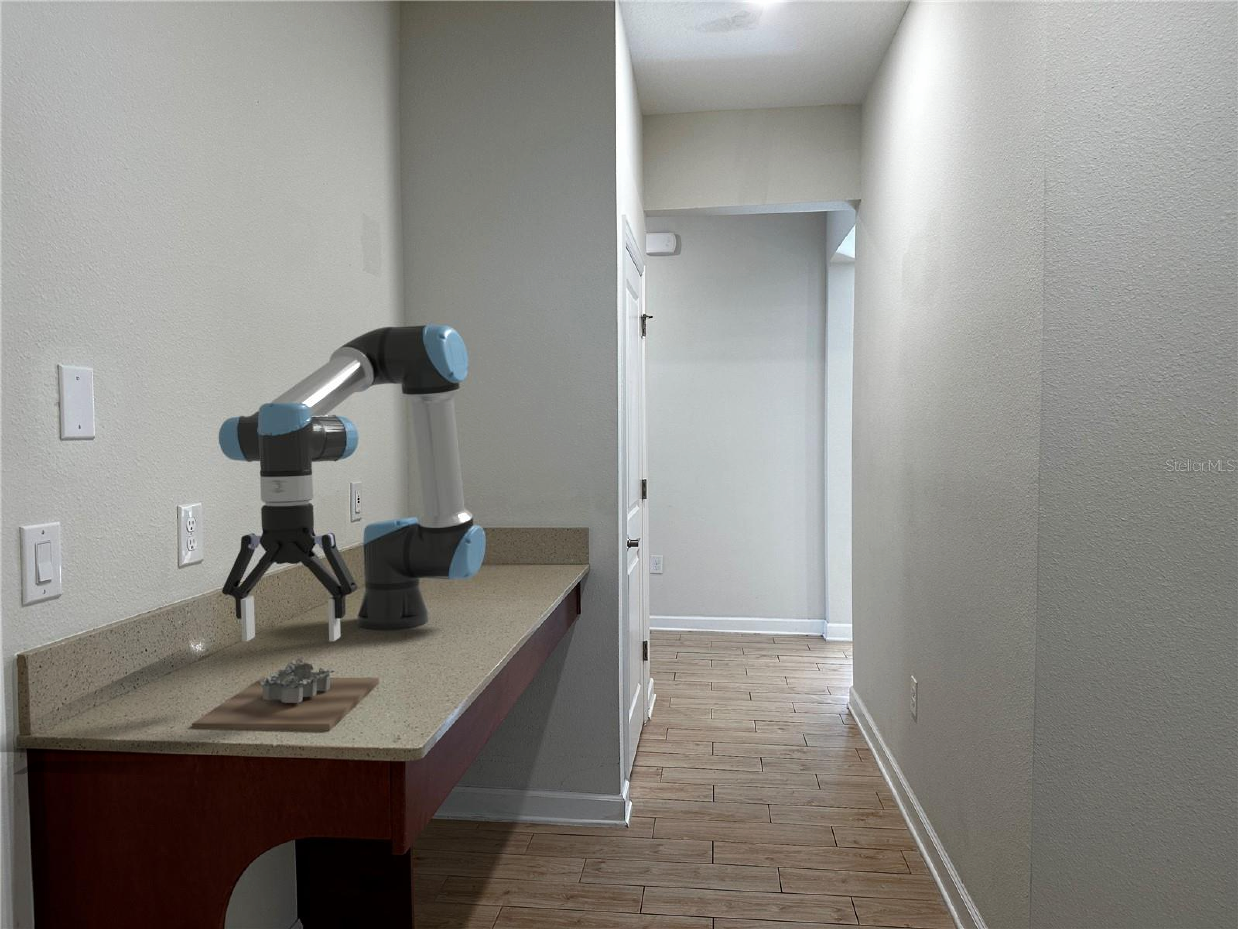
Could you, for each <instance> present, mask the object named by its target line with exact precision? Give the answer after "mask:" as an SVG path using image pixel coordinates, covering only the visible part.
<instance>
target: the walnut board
mask: <svg viewBox="0 0 1238 929" xmlns="http://www.w3.org/2000/svg"><path fill="white" fill-rule="evenodd" d="M266 678H267V677H261V678H259V679H257V680H256V681H254V682H252V684H250V685H248V686H247V687H245V688H244V689H243V690H241V691H239V692H238V693H236V694H234V695H233V696H232V697H230V698H229V699H227V700H226V701H224V702H223V703H221V704H219V705H218V706H216V707H214V708H213V709H212V710H210V711H209V712H207V713H206V714H204V715H203V716H201V717H200V718H198V719H196V720H194V722H192V723H191V725H192V726H191V729H217V730H218V729H222V730H223V729H224V730H226V729H227V730H262V731H263V730H264V731H265V730H267V731H268V730H269V731H273V730H274V731H307V732H309V731H310V732H311V731H315V732H316V731H317V732H318V731H319V732H321V731H322V732H323V731H324V732H330V731H331V730H333V729H334V728H335V726H337V725H338V724H339V723H340V722H341V721H342V720H343V719H344V718H346V716H347V715H348V714H349V713H351V711H353V710H354V709H355V708H356V707H357V705H359V703H361V702H362V701H363V700H364V699H365V698H366V697H367V696H368V695H369V694H370V693H371V692H372V691H374V689H375V688H376V687H377V686H378V685H380V678H379V677H330V688H329V689H328V690H327V691H316V696H313V697H303V698H302V702H299V703H284V702H281V700H279V699H272V700H267V699H263V696H262V693H263V684H259V683H260V682H258V681H262V680H265V679H266Z"/></svg>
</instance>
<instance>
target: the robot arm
mask: <svg viewBox="0 0 1238 929" xmlns="http://www.w3.org/2000/svg"><path fill="white" fill-rule="evenodd" d="M468 368H469V356H468V352H467V348H466V344H465V342H464V340H463V338H462V336H461V335H460V334H459V333H458V331H456V329H455V328H454V327H451V326H449V325H441V324H440V325H439V324H424V325H423V324H422V325H408V326H385V327H380V328H376V329H373V330H370V331H367V332H366V333H365V332H364V333H363V334H361V335H359V336H357V337H355V338H354V339H351V340H350V341H348V342H346V343H345V344H344V345H342V346H340V347H339V348H337V349H336V350H335V351H334V352H332V354H331V356H330V358H329V360H328V361H327V362H326V364H324V365H322V366H321V367H320V368H318V369H317V370H315V371H313V372H312V373H311V374H308V376H306V377H305V378H303V379H302V380H301V381H299V382H298V383H297V384H295V385H294V386H292V387H290V388H289V389H288V390H287V391H285V392H283V393H282V394H280V395H279V396H278V397H276V398H275V399H273V400H272V401H271V402H269V403H268V402H267V403H263V404H262V405H260V406H259V408H258V411H256V412H254V413H253V414H251V415H249V416H245V415H239V416H234V417H232V416H231V417H229V418H227V419H226V420H225V421H224V422H223V423H222V424H221V426H220V428H219V431H218V444H219V446H220V449H221V452H222V453H223V455H225V457H227V458H228V459H229V460H233V461H241V462H248V463H251V462H259V463H260V464H259V465H260V466H259V467H260V470H259V475H260V476H259V478H260V479H259V481H260V482H259V483H260V501H261V502H262V503H264V505H262V507H261V508H260V514H261V515H260V517H261V518H260V519H261V529H262V533H261V535H256V534H255V533H251V532H250V533H248V534H245V535H243V536H241V538H240V549H239V552H238V554H237V557H236V558H235V561H234V562H233V563H234V564H233V565H232V568H231V570H230V572H229V574H228V576H227V579H226V581H225V583H224V585H223V587H222V589H221V592H222V594H223V595H225V596H231V597H233V598H234V600H235V602H234V603H235V616H236V618H237V620H241V639H242V640H241V641H242V642H248V641H250V640H252V639H254V638H255V637H256V627H255V625H256V624H255V598H254V597H255V596H254V595H250V594H251V591H252V590H253V589H254V587H255V586H256V585H257V584H258V582H259V581H260V580H261V579H262V578H263V576H264V575H265V574H266V572H267V571H268V570H269V569H270V568H271V566H272V565H273V564H274V563H276V564H277V565H281V564H282V565H283V564H286V563H287V564H291V565H297V564H299V563H301V564H302V565H303V566H304V567H306V568H307V569H308V570H309V571H310V572H311V573H312V574H313V576H315V577H316V579H317V580H318V581H319V582H320V583H321V585H322V586H323V587H324V588H325V589H326V590H327V591H328V592H329V593H330V595H331V597H329V598H328V599H327V607H328V608H327V609H328V636H329V637H328V638H329V640H328V642H336V641H337V640H338V639H340V638H341V619H343V618H344V617H345V616H346V614H347V613H346V596H347V595H351V594H353V593H354V592H356V591H357V590H358V585H357V583H356V582H355V579H354V577H353V576H352V574H351V572H350V570H349V568H348V566H347V564H346V562H345V561H344V558H343V556H342V555H341V553H340V551H339V549H338V547H337V542H336V535H335V533H333V532H330V533H326V534H321V535H316V534H315V531H314V526H315V523H314V522H315V520H314V519H315V518H314V517H315V516H314V515H315V514H314V505H313V504H312V503H310V501H312V500H313V499H314V488H313V487H314V486H313V466H312V465H313V464H312V463H319V462H338V461H339V460H345V459H347V458H348V457H350V456H352V455H354V452H356V450H357V448H358V444H359V433H358V430H357V427H356V425H355V424H354V423H353V421H352V420H351V419H349V418H347V417H344V416H341V415H340V416H339V415H336V414H331V415H330V414H328V413H330V412H332V411H333V410H334V409H335V408H336V407H338V406H339V405H340V404H341V403H343V402H344V401H345V400H347V399H348V398H349V397H350V396H352V395H354V393H361V392H364V391H366V390H368V389H369V388H370V387H373V386H376V385H390V384H394V385H398V384H400V385H401V390H402V395H403V396H404V397H405V398H406V399H408V400H409V401H410V404H411V412H412V414H411V415H412V421H413V422H412V423H413V430H414V438H415V439H414V440H415V449H416V457H417V465H418V473H419V481H420V482H419V483H420V494H421V500H422V501H421V502H422V510H423V513H422V515H421V516H420V517H419V518H418V517H416V516H413V517H411V516H410V517H403V518H394V519H389V520H383V521H378V522H377V521H376V522H373V523H369V524H367V525H366V526H365V528H364V531H363V543H362V547H363V569H364V570H363V571H364V574H363V575H364V593H363V597H362V599H361V603H360V606H359V610H358V613H357V617H356V621H357V622H356V623H357V626H358V627H359V628H361V629H365V630H368V631H369V630H370V631H400V630H401V631H402V630H408V629H414V628H418V627H422V626H424V625H426V624H428V622H429V611H428V608H427V605H426V602H425V600H424V596H423V594H422V591H421V588H420V579H432V580H433V579H435V580H447V581H448V580H450V581H453V582H454V581H456V580H459V581H460V580H470V579H472V578H473V577H474V576H475V575H476V574H477V573H478V572H479V570H480V568H481V566H482V563H483V561H484V558H485V553H486V546H487V545H486V543H487V541H486V540H487V539H486V532H485V531H484V528H483V527H482V526H480V525H478V524H474V517H473V516H474V515H473V513H472V512H471V511H469V510H468V509H466V507H465V498H464V490H463V488H464V487H463V479H462V469H461V460H460V450H459V442H458V430H457V421H456V412H455V403H454V402H455V401H454V399H455V396H456V395H457V393H458V392H459V391H460V388H461V387H460V383H462V382H463V381H465V379H466V377H467V376H468ZM316 545H318V547H319V548H320V549H321V550H322V551H323V553H324V556H325V558H326V559H327V562H328V564H329V565H330V567H331V569H332V571H333V573H334V575H335V576H336V577H335V576H334V575H333V573H332V572H331V571H330V570H329V569H328V567H327V566H326V565H325V564H324V563H323V562H322V561H321V560H320V557H319V556H318V554H317V553H316V552H315V551H314V550H313V549H314V548H315V546H316ZM259 546H261V547H262V549H263V550H264V554H263V555H262V556H261V558H260V559H259V560H258V562H257V564H256V565H255V566H254V568H253V569H252V570H251V571H250V573H249V574H248V575H247V576H246V577H245V579H244V580H243V581H242V579H243V577H244V574H245V573H246V571H247V569H248V566H249V564H250V563H251V560H252V557H253V555H254V553H255V551H256V550H257V549H258V548H259ZM241 581H242V582H241Z"/></svg>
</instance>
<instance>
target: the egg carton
mask: <svg viewBox="0 0 1238 929" xmlns="http://www.w3.org/2000/svg"><path fill="white" fill-rule="evenodd" d="M302 659H303V657H300V658H296V659H294V660H291V661H290V662H289V663H287V665H286V667H285V668H279V669H278V672H275V673H274V674H270V675H269V676H267V677H265V678H266V679H265V680H262V681H258V680H257V681H258V682H260V683H259V684H263V693H262V696H263V699H267V700H272V699H279V700H281V702H284V703H299V702H302V698H303V697H313V696H316V691H327V690H328V689H329V688H330V678H331V675H330V673H335V670H330V669H329V668H327V670H325V669H323V668H322V667H319V668H318V669H319V670H317V671H315V670H314V667H313V665H312V663H311V662H307V661H304V660H302Z"/></svg>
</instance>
